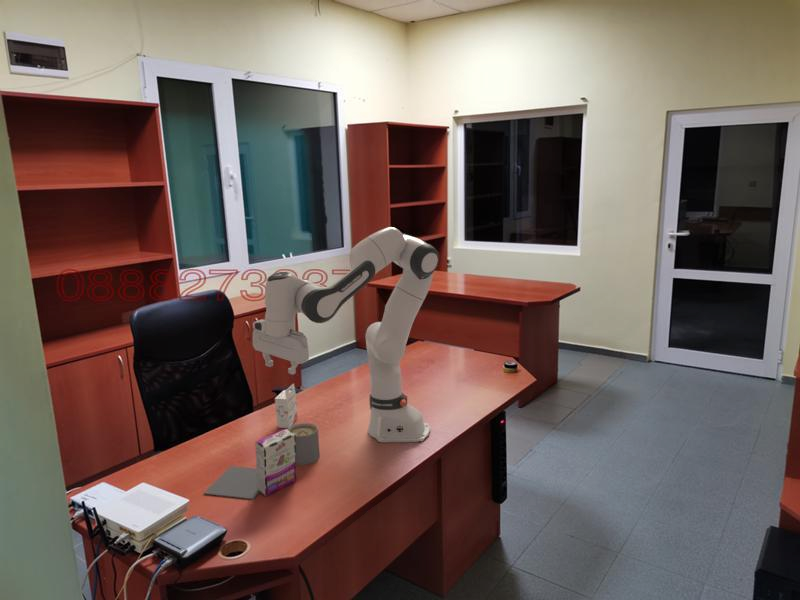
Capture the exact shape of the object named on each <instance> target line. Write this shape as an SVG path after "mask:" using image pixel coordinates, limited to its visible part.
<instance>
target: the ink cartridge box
mask: <svg viewBox="0 0 800 600" xmlns="http://www.w3.org/2000/svg"><path fill="white" fill-rule="evenodd" d="M274 403H275V404H274V405H275V411H276V412H275V413H276V414H275V415H276V423H277V428H281V429H288V428H290V427H291V426H293V425H294V423H295V422H296V421H297V420H298V410H297V395H296V388H295V383H292V384H291V385H290V386H289V387H288V388H287V389H283V390H282V391H281V392H280V393H278V395H277V396H276V397H275V398H274Z"/></svg>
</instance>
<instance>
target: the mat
mask: <svg viewBox="0 0 800 600" xmlns="http://www.w3.org/2000/svg"><path fill="white" fill-rule="evenodd" d="M260 493H261V492H260V491H259V490H258V489H257V467H256V468H255V467H244V466H243V467H242V466H232V465H231V466H229V468H227V470H225V471H224V472H223V473H222V474H221V475H220V476H219V477H218V478H217V479H216V480H215V481H214V482H213V483H212V484H211V485H210V486H209V487H208V488H207V489H206V490H205V491H204V492H203V495H205V494H210V495H209V496H214V495H216V496H217V497H223V496H225V498H232V497H234V499H241V498H244V499H243V500H250V499H251V500H252V501H254V500H255V499H256V497H257V496H258V495H259V494H260Z"/></svg>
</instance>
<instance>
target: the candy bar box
mask: <svg viewBox="0 0 800 600" xmlns="http://www.w3.org/2000/svg"><path fill="white" fill-rule="evenodd" d="M255 461H256V462H255V463H256V466H255V467H256V469H257V489H258V490H259V491H260V493H262V494H263V496H265V497H268V496H270V495H272V494H274V493H275V492H278V491H279V490H282V489H284V488H285V487H287V486H289V485H291V484H292V483H294V482H297V464H296V445H295V434H294V433H293V432H291V431H289V430H288V428H283V429H282V430H279V431H277V432H275V433H273V434H270V435H268V436H265V437H264V438H261V439H259V440H256V441H255Z"/></svg>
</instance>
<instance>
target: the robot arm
mask: <svg viewBox="0 0 800 600" xmlns="http://www.w3.org/2000/svg"><path fill="white" fill-rule="evenodd" d="M348 256H349V257H348V259H349V264H350V267H351V268H350V270H349V271H348V272H347V273H346V274H344V275H343V276H342V277H341V278H339V279H338V280H337V281H336V282H334V283H333V284H331V285H329V286H327V287H324V286H323V287H322V286H320V285H319V284H317V283H316V282H313V281H310V280H307V279H303V278H300V277H299V276H296V275H295V274H293V273H292V272H289V271H279V272H275V273H272V274H271V275H270V276H268V278H267V280H266V282H265V288H264V289H265V290H264V305H265V308H266V309H265V310H266V311H265V315H264V318H262V319H259V320H256V321H254V322H252V329H253V332H252V346H253V349H254V350H255V351H258V352H260V353H262V356H263V357H262V358H263V360H265V366H266V367H269V368H271V367H273V366H274V360H273V359H272V357H276V358H280V359H283V360H286V361H289V362H290V365H291V366H290V367H288V369H287V373H288V374H289V375H290V376H291V375H292V376H293V375H295V374H296V373H297V372H296V371H297V370H296V369H297V368H298V365H301V364H305V363H307V362H308V361H309V358H310V354H309V353H310V352H309V344H308V339H307V337H306V335H305V334H304V332H301V331H297V330H296V314H299V313H302V314H303V315H304V316H305V317H306V318H307V319H308V320H310V321H311V322H312V323H316V324H323V323H327V322H329V321H331V320H332V319H333V318H334V316H336V315H337V313H338V311H339V310H340V309H341V308H342V306H343V305H344V304H345V303H346V302H348V300H350V299H351V298H352V297H353V296H355V294H357V293H358V292H359V291H361V289H363V288H364V287H365V286H366V285H367V284H368V283H370V282H371V281H372V279H373V278H374V277H375V275H376V274H377V273H379V271H381V270H383V269H384V268H386V267H387V266H388V265H390V264H391V263H394V264H395V265H397V266H399V267H400V268H401V269H402V274H401V276H400V277H399V279H398V281H397V282H396V285H395V287H394V288H393V289H392V292H391V293H390V296H389V298H388V300H387V302H386V304H385V305H384V312H383V317H382V319H381V321H375V322H374V323H371V324H370V325H369V326H368V327H367V329H366V332H365V343H366V345H365V346H366V354H367V363H368V369H369V382H370V383H369V385H370V394H369V398H368V399H369V407H370V408H369V409H370V419H369V423H368V424H369V425H368V429H367V434H368V435H369V436H370V437H372V438H374V439H376V441H377V442H378V443H419V442H418V441H421V442H423V441H425V440H426V439H427V438H428V437H427V436H429V435H430V433H429V432H431V426H430V424H429V423H428V422H425V421H424V417H423V415H422V413H421V411H420V410H418V409H417V408H415V406H412V405H411V404H409V402H408V396H409V395H408V393H406V394H404V392H403V391H402V390H403V389H402V371H401V368H400V367H401V366H400V361H401V360H403V358H404V356H405V353H406V345H407V342H408V339H409V335H410V332H411V329H412V327H413V324H414V321H415V319H416V316H417V314H418V313H419V312H420V309H421V307H422V305H423V303H424V301H425V300H426V297H427V296H428V293H429V290H430V288H431V285H432V282H433V278H434V275H433V274H434V273H435V271H436V269H437V267H438V265H439V260H440V255H439V252H438V250H437V249H436V248H435V247H434V246H433V245H432V244H430V243H427V242H426V241H423V240H422V239H420V238H419V237H415V236H412V235H409V234H407V233H404V232H402V231H400V229H398V228H396V227H394V226H393V227H392V226H388V227H385V228H382V229H380V230H378V231H376V232H373V233H372V234H370V235H368V236H366V237H365V238H364V239H362V240H361V241H359V242H358V243H357V244H355V245H354V246H353V247H352V248H351V250H350V252H349V255H348ZM271 356H272V357H271ZM426 437H427V438H426ZM425 438H426V439H425ZM424 439H425V440H424Z"/></svg>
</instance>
